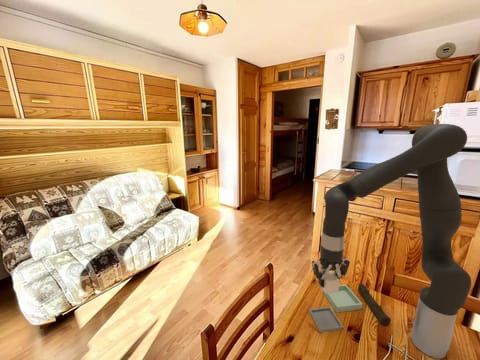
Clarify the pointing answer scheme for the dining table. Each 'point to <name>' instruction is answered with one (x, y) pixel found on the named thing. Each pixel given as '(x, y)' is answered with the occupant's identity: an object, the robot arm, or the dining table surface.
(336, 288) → the beige block
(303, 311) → the dining table surface
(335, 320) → the bin
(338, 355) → the dining table surface
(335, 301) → the bin
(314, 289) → the dining table surface
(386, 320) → the hand tool
